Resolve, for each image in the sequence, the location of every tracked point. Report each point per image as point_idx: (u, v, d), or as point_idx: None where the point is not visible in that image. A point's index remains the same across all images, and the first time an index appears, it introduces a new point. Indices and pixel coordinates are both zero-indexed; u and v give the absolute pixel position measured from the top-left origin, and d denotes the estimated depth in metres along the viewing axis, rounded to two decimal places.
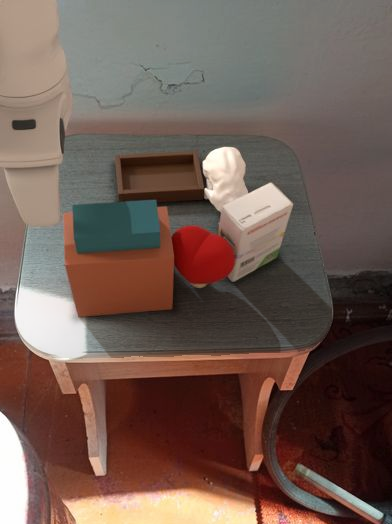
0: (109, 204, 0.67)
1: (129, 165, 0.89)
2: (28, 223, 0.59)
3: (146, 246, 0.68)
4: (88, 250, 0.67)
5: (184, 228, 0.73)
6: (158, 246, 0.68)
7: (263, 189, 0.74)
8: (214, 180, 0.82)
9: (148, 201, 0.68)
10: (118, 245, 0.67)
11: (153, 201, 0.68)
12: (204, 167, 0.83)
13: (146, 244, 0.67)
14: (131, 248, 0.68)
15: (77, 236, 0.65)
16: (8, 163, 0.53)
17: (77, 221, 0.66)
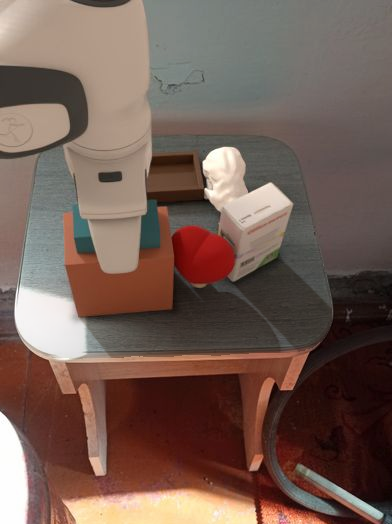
0: None
1: None
2: (106, 270, 0.58)
3: (146, 246, 0.68)
4: (88, 250, 0.67)
5: (184, 228, 0.73)
6: (158, 246, 0.68)
7: (263, 189, 0.74)
8: (214, 180, 0.82)
9: (148, 201, 0.68)
10: None
11: (153, 201, 0.68)
12: (204, 167, 0.83)
13: (146, 244, 0.67)
14: None
15: (77, 236, 0.65)
16: (94, 215, 0.53)
17: (77, 220, 0.66)
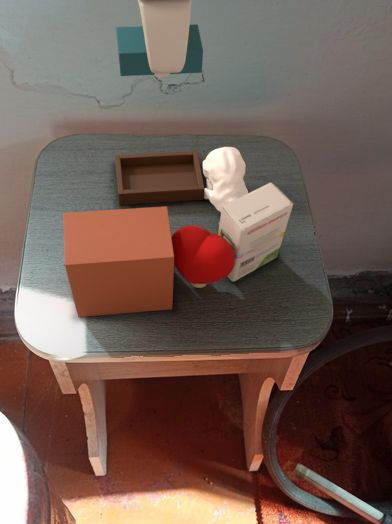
0: None
1: (129, 165, 0.89)
2: (154, 67, 0.60)
3: (188, 69, 0.69)
4: (131, 72, 0.68)
5: (184, 228, 0.73)
6: (200, 70, 0.69)
7: (263, 189, 0.74)
8: (214, 180, 0.82)
9: (190, 25, 0.69)
10: None
11: (195, 25, 0.69)
12: (204, 167, 0.83)
13: (188, 67, 0.69)
14: None
15: (122, 52, 0.66)
16: None
17: (121, 40, 0.67)
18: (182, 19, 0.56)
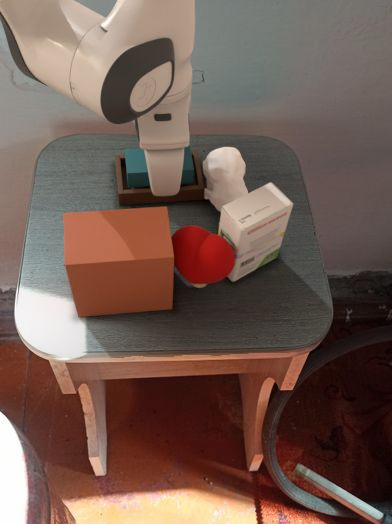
0: None
1: None
2: (156, 193, 0.77)
3: (182, 182, 0.86)
4: (137, 184, 0.85)
5: (184, 228, 0.73)
6: (191, 182, 0.87)
7: (263, 189, 0.74)
8: (214, 180, 0.82)
9: None
10: None
11: (187, 147, 0.86)
12: (204, 167, 0.83)
13: (182, 180, 0.86)
14: None
15: (130, 172, 0.83)
16: (150, 146, 0.71)
17: (129, 161, 0.84)
18: (177, 163, 0.73)
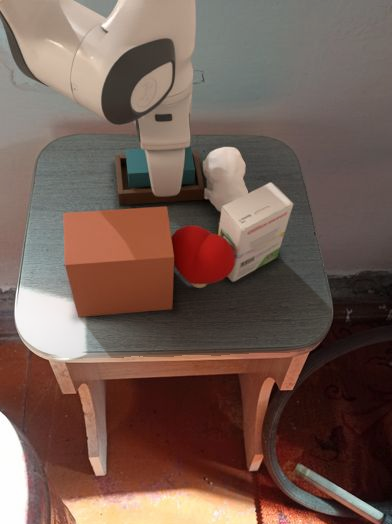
0: None
1: None
2: (156, 193, 0.77)
3: (183, 182, 0.86)
4: (138, 185, 0.85)
5: (184, 228, 0.73)
6: (192, 182, 0.87)
7: (263, 189, 0.74)
8: (214, 180, 0.82)
9: None
10: None
11: (188, 147, 0.86)
12: (204, 167, 0.83)
13: (183, 180, 0.86)
14: None
15: (131, 172, 0.83)
16: (151, 146, 0.71)
17: (129, 161, 0.84)
18: (178, 163, 0.73)
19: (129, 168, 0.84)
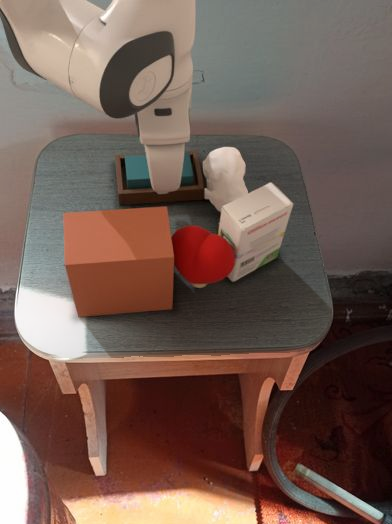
0: None
1: None
2: (156, 189, 0.76)
3: None
4: None
5: (184, 228, 0.73)
6: None
7: (263, 189, 0.74)
8: (214, 180, 0.82)
9: None
10: None
11: (187, 153, 0.87)
12: (204, 167, 0.83)
13: None
14: None
15: (130, 178, 0.84)
16: (151, 141, 0.71)
17: (129, 167, 0.85)
18: (178, 158, 0.73)
19: (128, 174, 0.85)
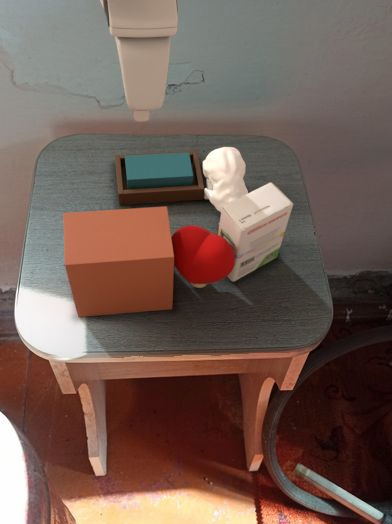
0: (153, 155, 0.87)
1: None
2: (132, 105, 0.58)
3: None
4: None
5: (184, 228, 0.73)
6: None
7: (263, 189, 0.74)
8: (214, 180, 0.82)
9: (183, 153, 0.87)
10: (160, 187, 0.86)
11: (187, 153, 0.87)
12: (204, 167, 0.83)
13: None
14: None
15: (130, 178, 0.84)
16: (124, 30, 0.52)
17: (129, 167, 0.85)
18: (161, 58, 0.54)
19: (128, 174, 0.85)
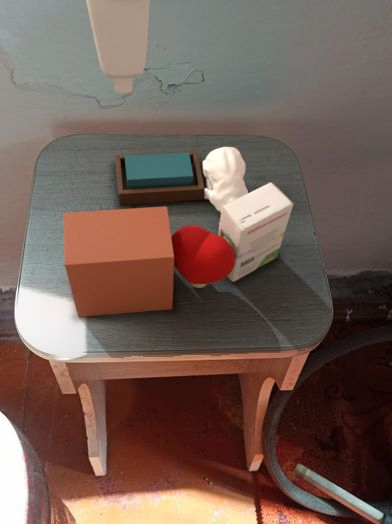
0: (153, 155, 0.87)
1: None
2: (107, 69, 0.48)
3: None
4: None
5: (184, 228, 0.73)
6: None
7: (263, 189, 0.74)
8: (214, 180, 0.82)
9: (183, 153, 0.87)
10: (160, 187, 0.86)
11: (187, 153, 0.87)
12: (204, 167, 0.83)
13: None
14: None
15: (130, 178, 0.84)
16: None
17: (129, 167, 0.85)
18: (139, 10, 0.45)
19: (128, 174, 0.85)
